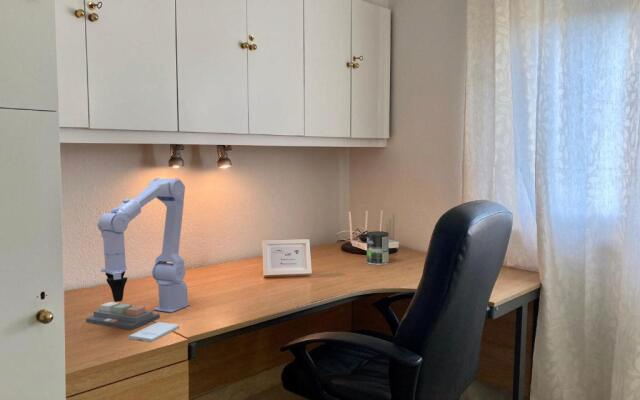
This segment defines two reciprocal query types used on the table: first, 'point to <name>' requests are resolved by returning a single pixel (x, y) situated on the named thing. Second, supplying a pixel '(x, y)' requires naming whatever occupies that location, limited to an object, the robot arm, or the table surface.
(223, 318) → the table surface
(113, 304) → the key
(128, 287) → the table surface
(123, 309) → the key
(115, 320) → the grey compartment tray
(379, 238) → the coffee can
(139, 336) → the external hard drive
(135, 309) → the key
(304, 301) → the table surface
